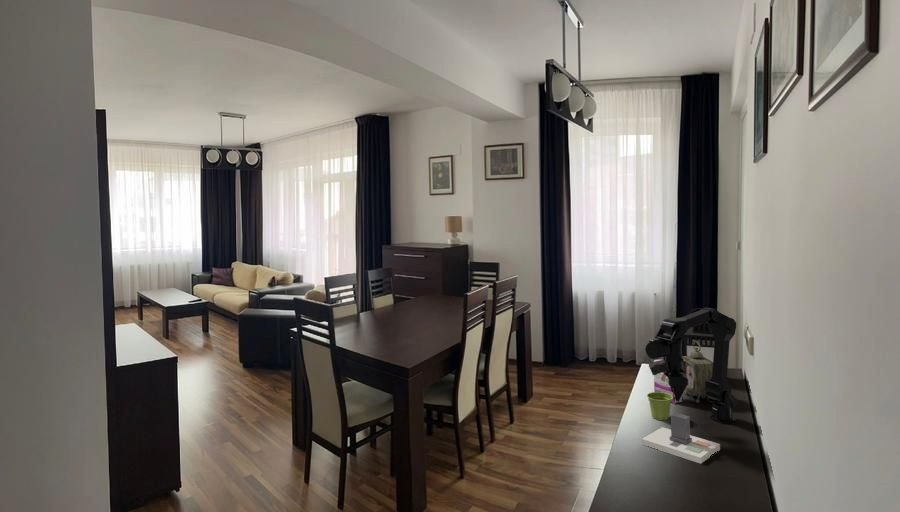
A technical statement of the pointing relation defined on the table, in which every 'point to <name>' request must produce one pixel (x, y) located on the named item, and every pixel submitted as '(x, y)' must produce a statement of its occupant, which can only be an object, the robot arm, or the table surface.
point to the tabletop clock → (697, 372)
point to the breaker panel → (681, 446)
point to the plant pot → (660, 404)
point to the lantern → (700, 340)
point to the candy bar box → (664, 385)
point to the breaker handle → (680, 428)
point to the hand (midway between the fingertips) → (675, 396)
